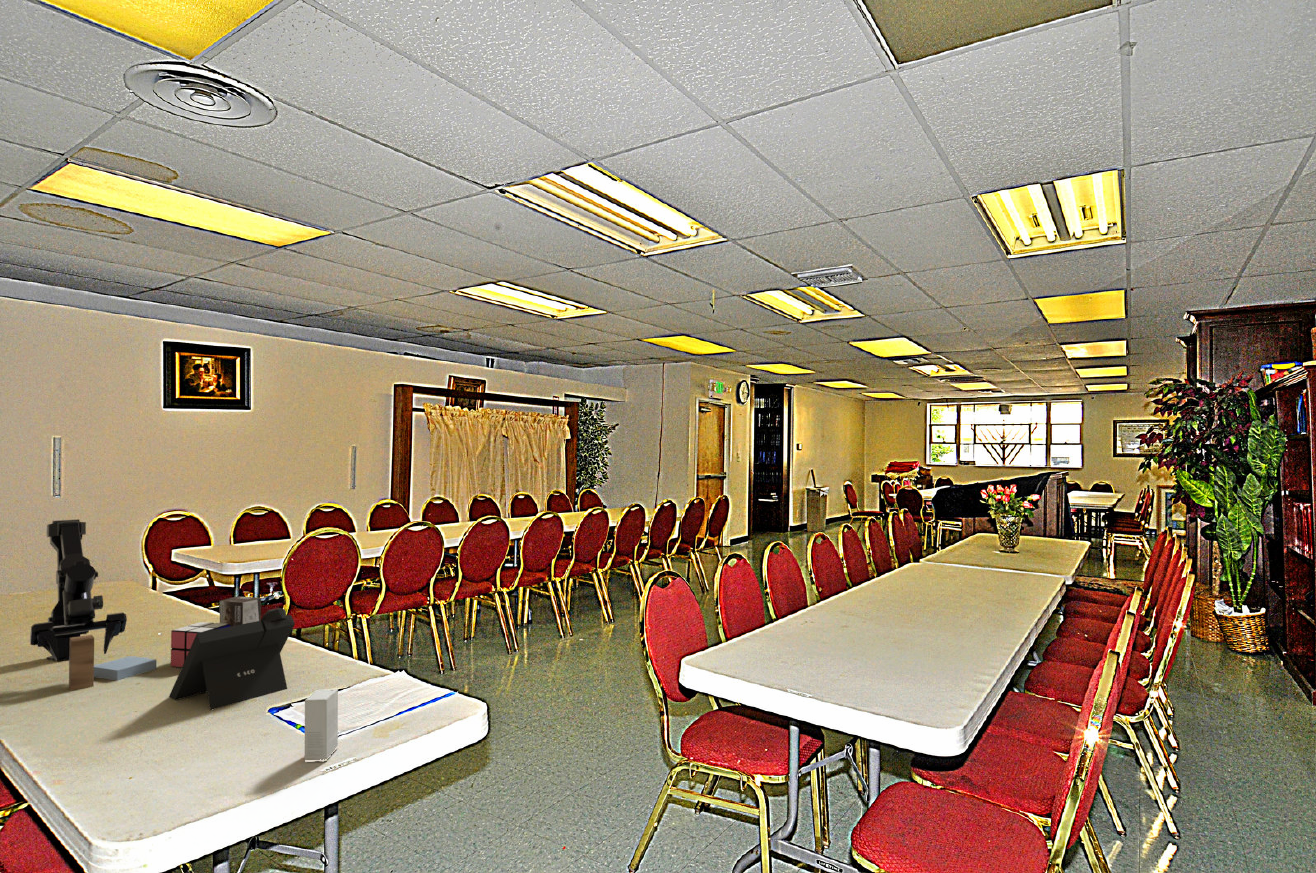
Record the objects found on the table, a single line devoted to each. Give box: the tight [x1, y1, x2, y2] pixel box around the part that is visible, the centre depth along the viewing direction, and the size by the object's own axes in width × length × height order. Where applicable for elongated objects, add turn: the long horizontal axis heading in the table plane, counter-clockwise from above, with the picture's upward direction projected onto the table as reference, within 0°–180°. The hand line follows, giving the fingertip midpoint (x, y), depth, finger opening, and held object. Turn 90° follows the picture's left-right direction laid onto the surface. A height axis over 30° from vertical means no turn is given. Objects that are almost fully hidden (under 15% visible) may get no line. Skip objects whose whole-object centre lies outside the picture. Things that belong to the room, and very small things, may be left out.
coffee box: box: [219, 596, 262, 627], centre depth 203 cm, size 9×6×16 cm
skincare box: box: [304, 688, 339, 761], centre depth 137 cm, size 6×4×12 cm
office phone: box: [168, 607, 296, 711], centre depth 179 cm, size 29×28×20 cm
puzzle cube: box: [170, 621, 230, 669], centre depth 196 cm, size 10×10×10 cm
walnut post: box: [68, 634, 95, 691], centre depth 176 cm, size 4×4×12 cm
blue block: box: [94, 655, 157, 681], centre depth 187 cm, size 10×10×3 cm
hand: (82, 656), depth 176 cm, fingers open, 9 cm apart
